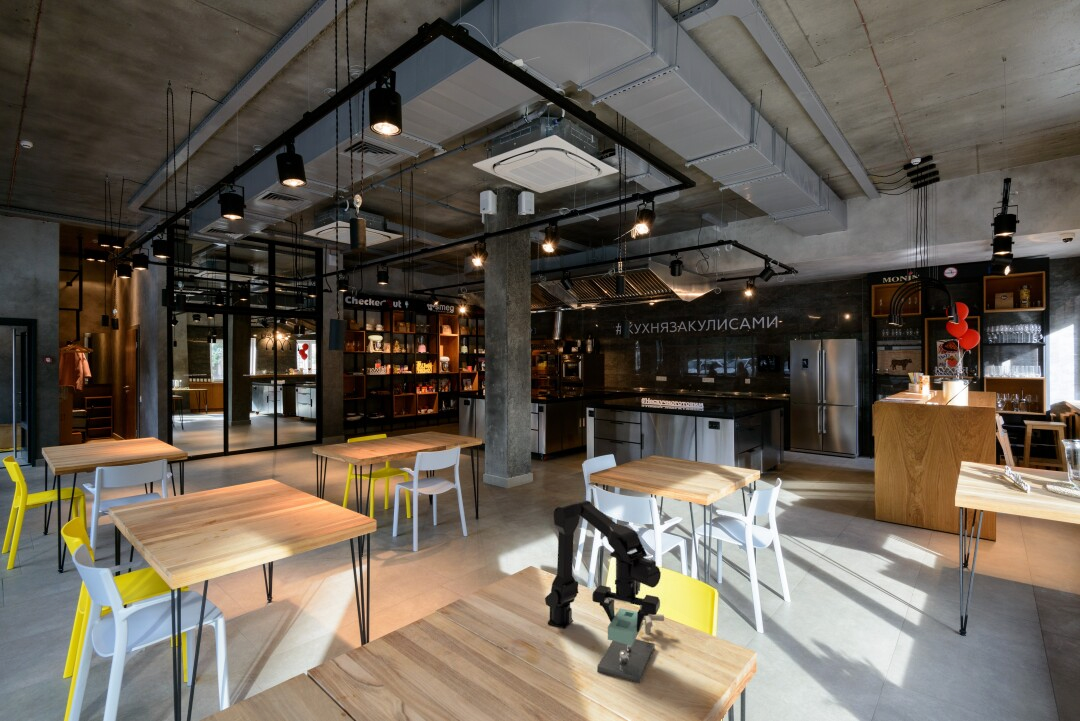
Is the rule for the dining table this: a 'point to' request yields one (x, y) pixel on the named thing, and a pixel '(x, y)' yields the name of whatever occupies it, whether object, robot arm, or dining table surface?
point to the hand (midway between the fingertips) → (625, 628)
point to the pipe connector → (649, 619)
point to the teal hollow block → (624, 627)
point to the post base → (633, 660)
